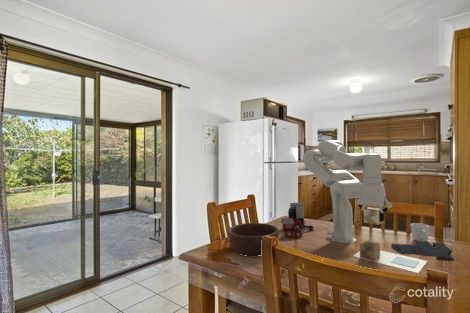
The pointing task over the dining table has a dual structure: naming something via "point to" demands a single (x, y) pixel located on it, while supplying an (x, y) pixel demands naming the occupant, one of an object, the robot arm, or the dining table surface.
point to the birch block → (372, 216)
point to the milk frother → (298, 213)
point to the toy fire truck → (292, 227)
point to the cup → (420, 232)
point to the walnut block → (370, 250)
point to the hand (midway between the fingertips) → (373, 219)
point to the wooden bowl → (249, 237)
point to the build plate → (399, 261)
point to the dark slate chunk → (425, 250)
